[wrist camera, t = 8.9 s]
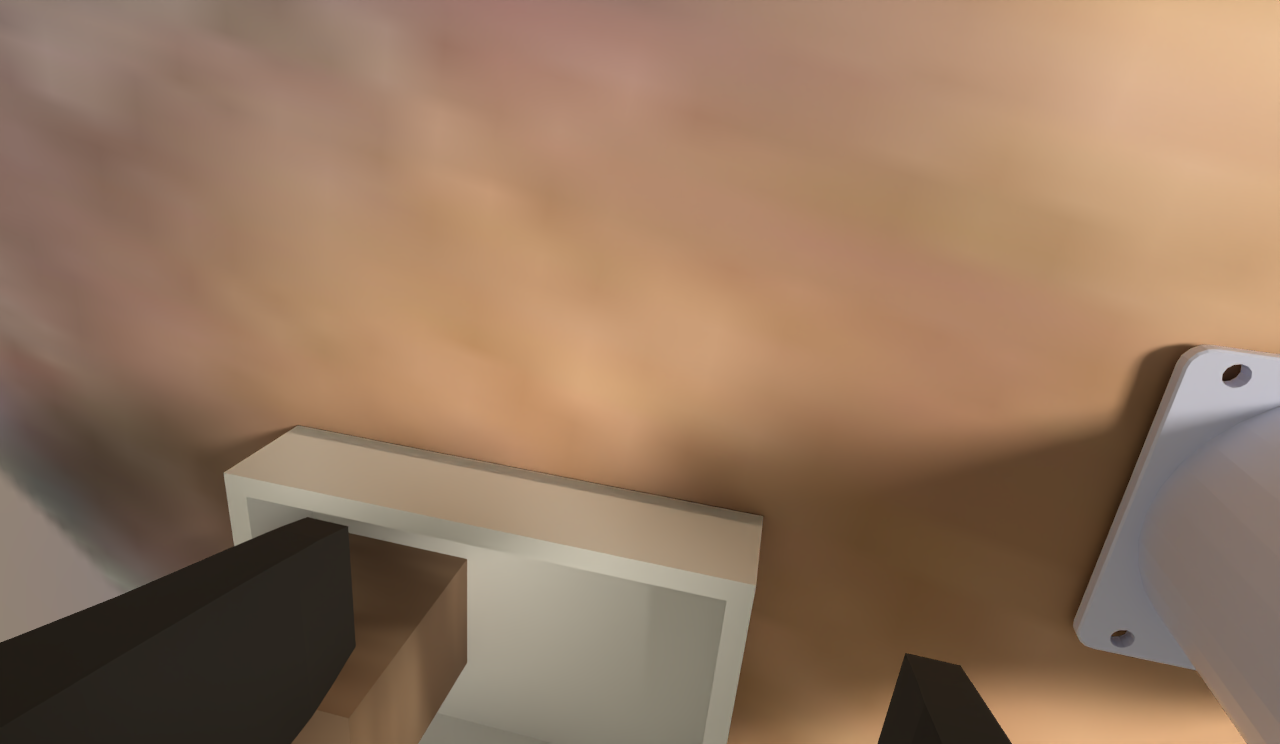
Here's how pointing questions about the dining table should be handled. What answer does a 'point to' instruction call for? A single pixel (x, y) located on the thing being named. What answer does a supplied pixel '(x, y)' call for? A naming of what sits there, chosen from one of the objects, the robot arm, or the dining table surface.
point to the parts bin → (541, 586)
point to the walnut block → (396, 646)
